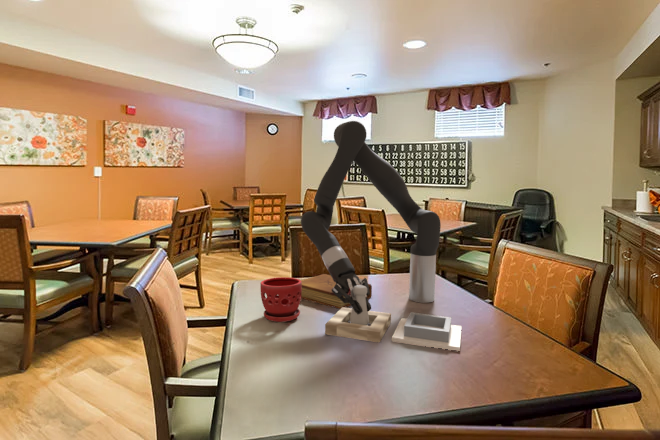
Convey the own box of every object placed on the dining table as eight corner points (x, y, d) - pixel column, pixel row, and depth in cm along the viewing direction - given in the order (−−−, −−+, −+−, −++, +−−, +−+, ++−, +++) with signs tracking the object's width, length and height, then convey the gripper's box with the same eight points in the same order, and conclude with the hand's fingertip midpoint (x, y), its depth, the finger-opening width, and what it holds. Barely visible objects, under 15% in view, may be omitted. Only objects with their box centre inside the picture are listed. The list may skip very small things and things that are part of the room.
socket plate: (401, 321, 127) (401, 308, 127) (461, 329, 121) (462, 316, 121) (391, 341, 112) (392, 326, 112) (459, 351, 106) (460, 336, 106)
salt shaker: (367, 332, 118) (368, 289, 117) (348, 331, 119) (349, 288, 118) (369, 325, 124) (370, 284, 122) (351, 323, 125) (352, 282, 124)
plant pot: (308, 314, 133) (309, 278, 132) (288, 327, 122) (288, 288, 120) (275, 308, 139) (275, 273, 138) (252, 320, 127) (252, 283, 126)
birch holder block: (342, 316, 132) (342, 307, 131) (390, 322, 126) (391, 313, 126) (325, 334, 117) (325, 324, 116) (379, 342, 111) (379, 332, 111)
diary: (371, 298, 153) (371, 283, 152) (340, 311, 139) (341, 294, 138) (325, 286, 167) (325, 273, 167) (293, 296, 153) (293, 282, 152)
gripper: (326, 259, 120) (354, 310, 113) (360, 254, 129) (387, 300, 122) (315, 273, 125) (340, 323, 117) (348, 267, 134) (374, 312, 126)
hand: (364, 311), depth 119 cm, fingers closed on salt shaker, 3 cm apart
